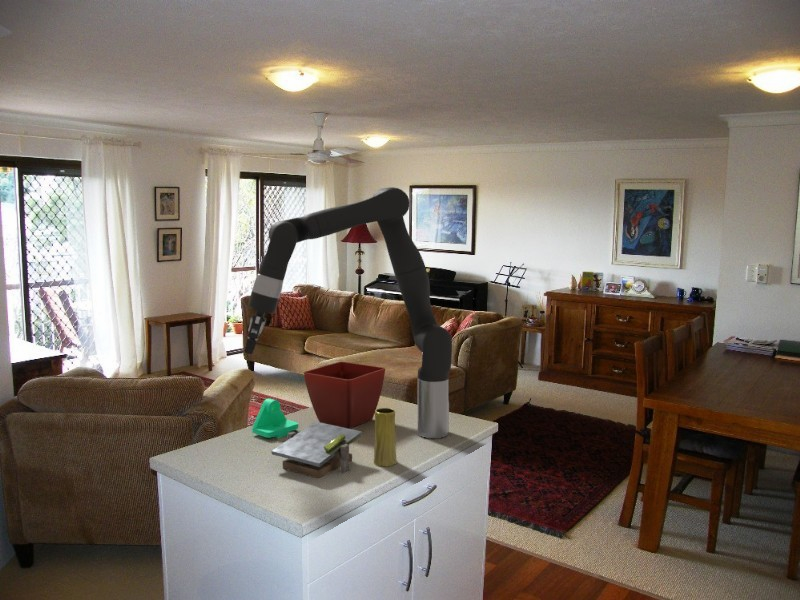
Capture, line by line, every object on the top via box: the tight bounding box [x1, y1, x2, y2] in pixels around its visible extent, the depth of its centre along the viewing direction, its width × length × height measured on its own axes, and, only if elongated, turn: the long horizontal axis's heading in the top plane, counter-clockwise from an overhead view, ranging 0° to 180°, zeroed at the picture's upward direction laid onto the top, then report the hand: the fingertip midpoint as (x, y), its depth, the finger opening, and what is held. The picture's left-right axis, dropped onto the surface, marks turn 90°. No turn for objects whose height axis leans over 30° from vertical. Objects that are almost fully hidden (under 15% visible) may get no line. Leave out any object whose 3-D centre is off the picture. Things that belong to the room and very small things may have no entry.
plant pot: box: [303, 361, 386, 429], centre depth 211 cm, size 19×19×17 cm
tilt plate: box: [270, 421, 363, 467], centre depth 173 cm, size 18×16×3 cm
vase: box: [373, 407, 398, 467], centre depth 175 cm, size 6×6×14 cm
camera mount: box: [251, 397, 299, 439], centre depth 199 cm, size 12×8×10 cm, turn 139°
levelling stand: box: [282, 431, 353, 479], centre depth 174 cm, size 14×19×7 cm
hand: (249, 351), depth 178 cm, fingers open, 8 cm apart
